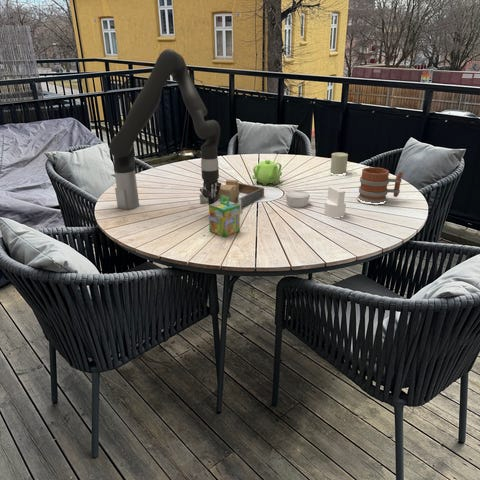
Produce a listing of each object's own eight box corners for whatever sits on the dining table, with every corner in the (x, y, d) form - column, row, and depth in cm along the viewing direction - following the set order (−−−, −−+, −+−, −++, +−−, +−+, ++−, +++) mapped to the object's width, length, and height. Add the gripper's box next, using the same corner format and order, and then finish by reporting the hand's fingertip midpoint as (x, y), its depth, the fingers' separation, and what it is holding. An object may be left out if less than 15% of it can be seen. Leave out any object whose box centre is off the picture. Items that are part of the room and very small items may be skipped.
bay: (240, 213, 189) (240, 203, 187) (199, 203, 201) (198, 194, 199) (269, 197, 208) (270, 188, 206) (230, 189, 220) (230, 181, 218)
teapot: (287, 181, 232) (288, 159, 227) (276, 188, 221) (277, 165, 215) (261, 177, 239) (261, 155, 234) (249, 184, 228) (249, 161, 223)
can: (326, 173, 246) (328, 152, 240) (339, 171, 249) (341, 150, 244) (336, 177, 238) (338, 156, 233) (349, 174, 241) (351, 154, 236)
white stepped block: (320, 212, 188) (322, 187, 183) (337, 209, 191) (339, 184, 186) (331, 219, 181) (333, 193, 175) (348, 216, 183) (351, 190, 178)
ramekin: (310, 201, 202) (311, 191, 200) (307, 209, 192) (308, 198, 190) (287, 199, 205) (287, 189, 203) (283, 207, 195) (283, 196, 193)
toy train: (239, 198, 207) (239, 178, 203) (230, 210, 193) (230, 189, 188) (228, 197, 209) (228, 178, 204) (219, 209, 194) (218, 188, 190)
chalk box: (208, 231, 171) (207, 196, 165) (225, 224, 177) (224, 191, 171) (224, 237, 165) (223, 202, 159) (240, 231, 171) (240, 196, 165)
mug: (355, 195, 209) (358, 165, 202) (395, 196, 206) (399, 166, 200) (358, 205, 196) (362, 174, 190) (401, 206, 194) (406, 174, 188)
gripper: (206, 172, 175) (208, 211, 182) (226, 165, 185) (227, 203, 192) (193, 170, 179) (195, 208, 186) (212, 163, 189) (214, 200, 196)
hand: (211, 205), depth 189 cm, fingers closed
